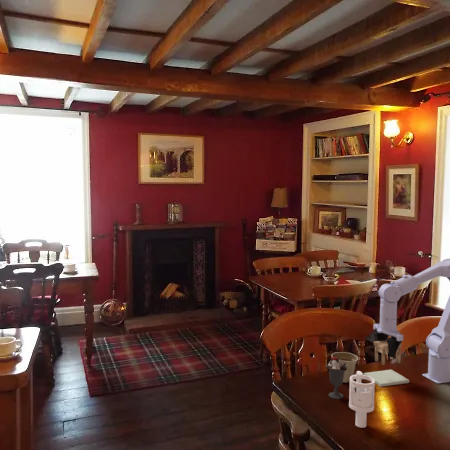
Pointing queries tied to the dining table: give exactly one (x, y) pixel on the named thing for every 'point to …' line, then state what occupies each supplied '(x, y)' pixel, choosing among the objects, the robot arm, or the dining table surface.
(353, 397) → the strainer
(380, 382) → the board
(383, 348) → the stool
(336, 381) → the sundae
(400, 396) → the dining table surface
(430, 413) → the dining table surface
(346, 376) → the flower pot
